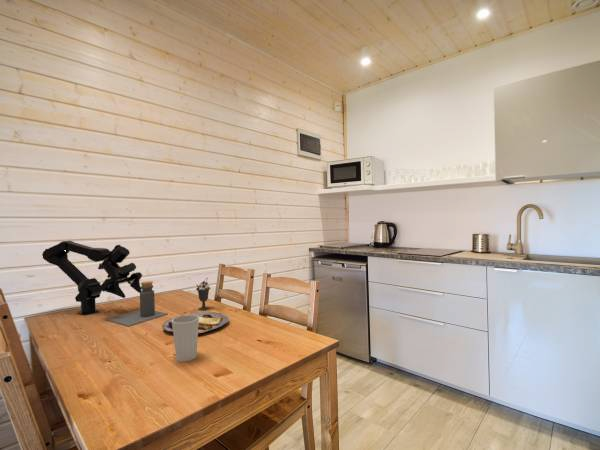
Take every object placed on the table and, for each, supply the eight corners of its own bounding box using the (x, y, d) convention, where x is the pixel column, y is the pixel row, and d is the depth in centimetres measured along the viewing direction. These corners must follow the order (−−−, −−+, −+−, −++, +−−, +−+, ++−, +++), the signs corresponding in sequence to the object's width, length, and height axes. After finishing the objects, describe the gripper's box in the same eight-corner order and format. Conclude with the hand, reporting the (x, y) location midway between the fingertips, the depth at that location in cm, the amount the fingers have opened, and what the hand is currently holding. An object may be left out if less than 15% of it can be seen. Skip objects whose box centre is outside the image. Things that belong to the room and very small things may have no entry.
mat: (105, 319, 132) (105, 318, 132) (144, 309, 147) (144, 308, 147) (128, 326, 123) (128, 325, 123) (167, 314, 138) (167, 313, 138)
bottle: (153, 312, 140) (153, 280, 140) (155, 315, 136) (155, 282, 135) (139, 314, 137) (138, 281, 137) (141, 318, 132) (140, 284, 132)
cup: (183, 365, 89) (182, 324, 89) (167, 359, 93) (166, 320, 93) (205, 354, 96) (204, 317, 95) (188, 349, 100) (188, 313, 100)
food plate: (149, 333, 115) (149, 324, 115) (187, 315, 137) (188, 307, 137) (207, 341, 108) (207, 331, 108) (237, 320, 130) (237, 312, 130)
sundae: (213, 307, 148) (213, 277, 148) (204, 311, 142) (203, 279, 142) (203, 306, 151) (202, 276, 150) (193, 310, 144) (192, 278, 144)
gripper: (105, 260, 130) (126, 287, 127) (139, 255, 148) (158, 279, 145) (91, 278, 132) (111, 304, 130) (126, 271, 150) (144, 294, 148)
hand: (133, 294), depth 138 cm, fingers open, 9 cm apart
